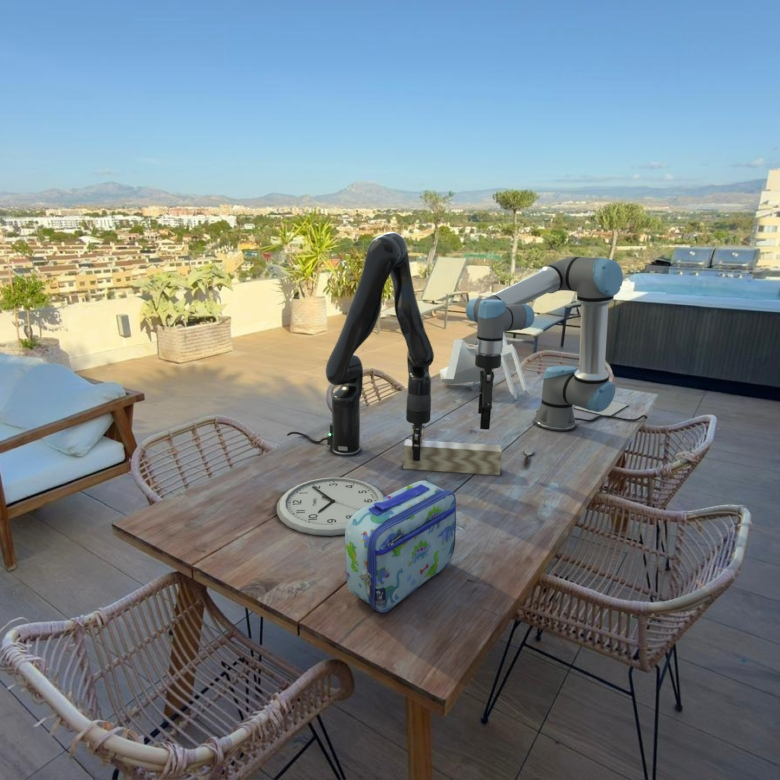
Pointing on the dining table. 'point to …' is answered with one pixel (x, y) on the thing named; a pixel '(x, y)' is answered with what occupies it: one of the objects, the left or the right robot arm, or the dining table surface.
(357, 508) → the wall clock
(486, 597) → the dining table surface
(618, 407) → the invitation card
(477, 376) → the white plastic object
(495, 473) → the plank
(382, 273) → the left robot arm
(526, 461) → the fork
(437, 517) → the lunch box
